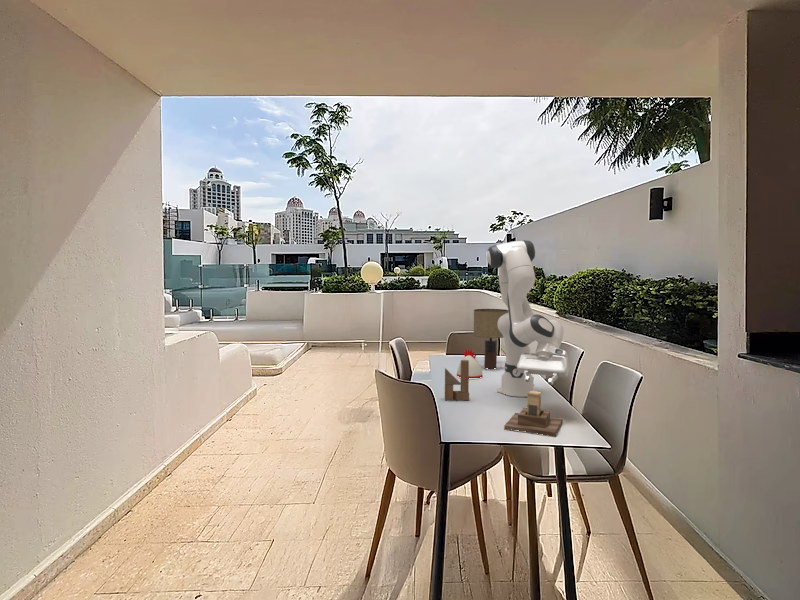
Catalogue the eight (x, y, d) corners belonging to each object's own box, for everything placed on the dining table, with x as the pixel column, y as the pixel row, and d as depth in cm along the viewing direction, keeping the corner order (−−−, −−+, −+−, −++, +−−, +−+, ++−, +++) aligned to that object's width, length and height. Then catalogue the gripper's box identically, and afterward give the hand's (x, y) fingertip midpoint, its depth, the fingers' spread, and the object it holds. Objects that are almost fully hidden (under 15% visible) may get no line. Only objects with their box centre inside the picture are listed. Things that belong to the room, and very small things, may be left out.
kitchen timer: (466, 373, 279) (467, 346, 278) (487, 376, 269) (487, 349, 268) (451, 376, 269) (452, 349, 268) (472, 380, 259) (472, 352, 258)
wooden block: (444, 398, 222) (444, 359, 221) (468, 398, 222) (468, 359, 221) (445, 400, 219) (445, 360, 218) (469, 400, 219) (469, 360, 218)
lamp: (483, 364, 304) (484, 308, 302) (513, 368, 292) (514, 309, 290) (466, 369, 289) (467, 310, 287) (497, 373, 276) (498, 312, 274)
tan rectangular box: (529, 419, 186) (530, 390, 186) (540, 420, 184) (541, 392, 184) (526, 423, 181) (527, 394, 181) (537, 424, 180) (538, 395, 179)
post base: (515, 416, 195) (515, 404, 195) (562, 422, 187) (562, 409, 187) (504, 429, 179) (504, 416, 179) (555, 436, 171) (555, 422, 171)
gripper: (519, 348, 204) (510, 375, 196) (569, 351, 192) (562, 380, 184) (523, 357, 207) (515, 384, 200) (573, 361, 196) (565, 390, 188)
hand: (538, 382), depth 192 cm, fingers open, 8 cm apart
